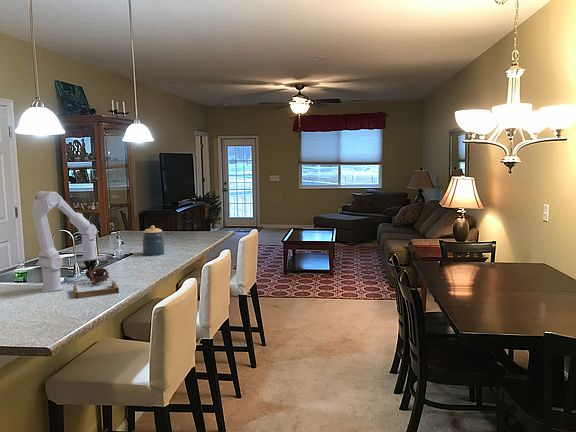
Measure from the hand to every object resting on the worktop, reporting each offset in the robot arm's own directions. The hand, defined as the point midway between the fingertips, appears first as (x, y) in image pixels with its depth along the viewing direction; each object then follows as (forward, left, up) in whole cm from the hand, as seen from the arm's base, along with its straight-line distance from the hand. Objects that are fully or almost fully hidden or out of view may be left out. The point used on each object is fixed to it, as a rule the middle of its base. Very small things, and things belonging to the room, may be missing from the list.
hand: (90, 276), depth 235 cm
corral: (+23, 0, -2) cm, 23 cm away
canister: (-50, +40, -2) cm, 64 cm away
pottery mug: (+8, +2, -2) cm, 8 cm away
